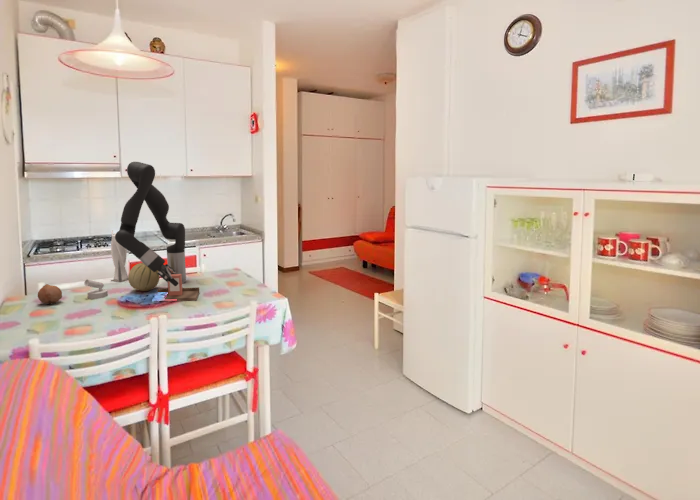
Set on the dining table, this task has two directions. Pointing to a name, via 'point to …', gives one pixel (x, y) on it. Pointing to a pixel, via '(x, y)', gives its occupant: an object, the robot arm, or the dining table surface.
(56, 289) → the brown round lump
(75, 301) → the dining table surface
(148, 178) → the robot arm
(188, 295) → the display ledge
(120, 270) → the skyscraper
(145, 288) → the cantaloupe
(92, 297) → the security camera
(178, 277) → the picture frame
